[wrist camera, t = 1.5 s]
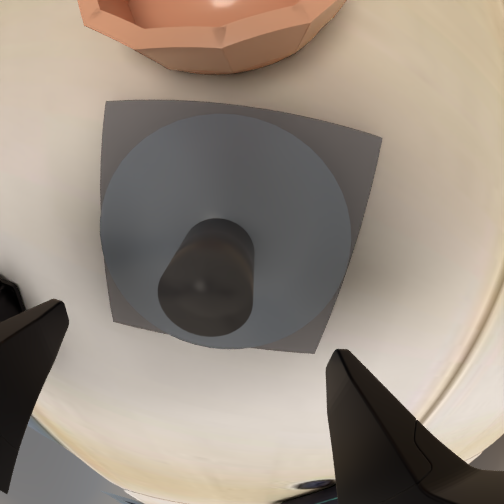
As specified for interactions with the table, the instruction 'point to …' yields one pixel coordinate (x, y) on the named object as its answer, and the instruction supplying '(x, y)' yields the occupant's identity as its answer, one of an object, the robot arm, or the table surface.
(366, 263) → the table surface
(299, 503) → the portable speaker
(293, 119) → the mat
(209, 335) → the lid
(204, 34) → the bowl
